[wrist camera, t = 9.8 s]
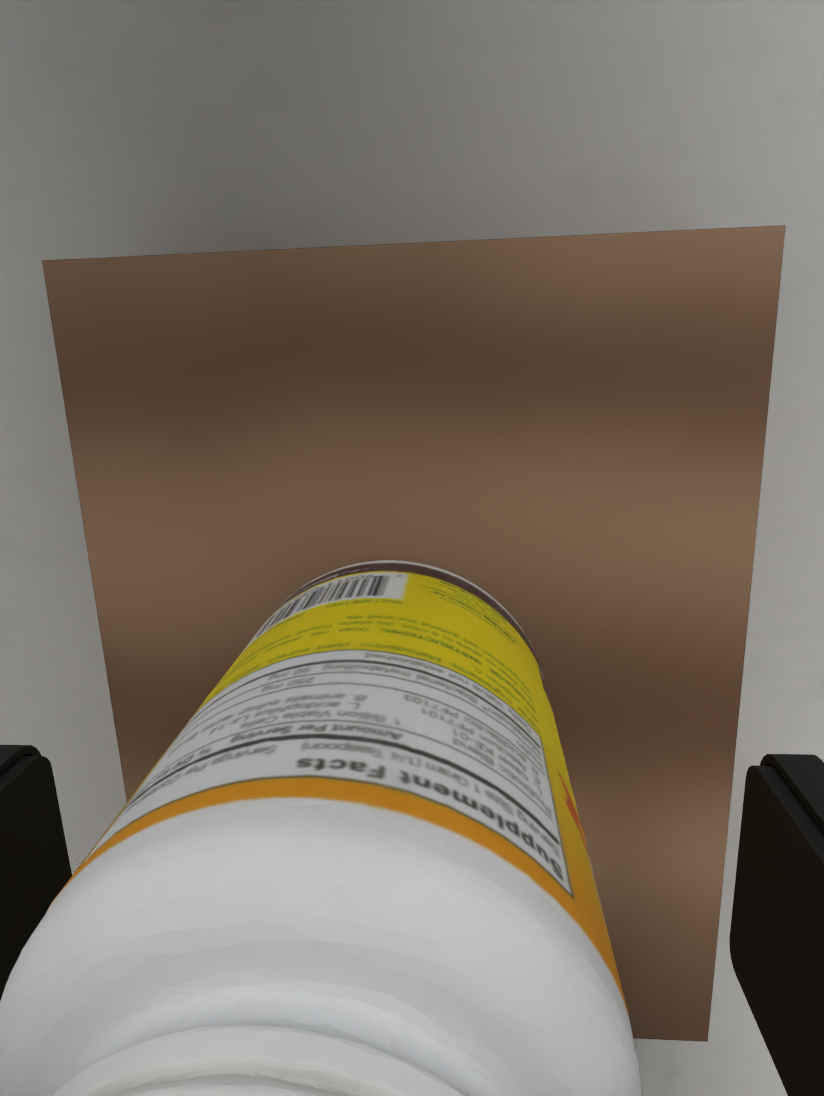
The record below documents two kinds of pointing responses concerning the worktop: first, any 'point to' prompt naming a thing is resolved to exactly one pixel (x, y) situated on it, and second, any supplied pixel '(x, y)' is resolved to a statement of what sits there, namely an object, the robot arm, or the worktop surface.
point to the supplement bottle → (339, 879)
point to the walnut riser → (454, 501)
